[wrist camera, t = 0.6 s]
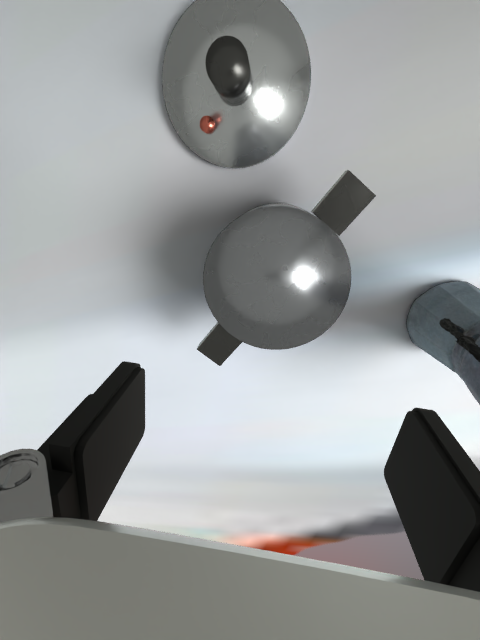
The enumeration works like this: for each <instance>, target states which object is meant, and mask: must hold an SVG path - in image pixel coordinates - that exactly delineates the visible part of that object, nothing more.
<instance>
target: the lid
mask: <svg viewBox="0 0 480 640" xmlns="http://www.w3.org/2000/svg"><path fill="white" fill-rule="evenodd" d="M310 84H311V66H310V57H309V52H308V47H307V43H306V40H305V37H304V34H303V32H302V30H301V28H300V26H299V24H298V22H297V21H296V19H295V17H294V16H293V14H292V13H291V12H290V11H289V9H288V8H287V7H286V6H285V5H284V4H283V3H282V2H281V1H280V0H196V1H195V2H194V3H193V4H192V5H191V6H190V7H189V8H188V9H187V10H186V11H185V13H184V14H183V15H182V16H181V18H180V19H179V21H178V22H177V24H176V26H175V27H174V29H173V32H172V34H171V36H170V38H169V41H168V44H167V48H166V51H165V56H164V61H163V70H162V87H163V96H164V101H165V105H166V109H167V112H168V115H169V118H170V120H171V122H172V124H173V127H174V129H175V130H176V132H177V133H178V135H179V137H180V138H181V139H182V141H183V142H184V143H185V144H186V145H187V146H188V147H189V148H190V149H191V150H192V151H193V152H194V153H195V154H197V155H198V156H199V157H201V158H203V159H204V160H206V161H208V162H210V163H213V164H215V165H218V166H222V167H226V168H245V167H250V166H254V165H257V164H259V163H262V162H264V161H265V160H267V159H269V158H271V157H272V156H273V155H275V154H276V153H277V152H278V151H280V150H281V149H282V148H283V147H284V146H285V145H286V143H287V142H288V141H289V140H290V139H291V137H292V136H293V134H294V132H295V131H296V129H297V127H298V125H299V123H300V121H301V119H302V117H303V114H304V111H305V108H306V105H307V101H308V97H309V91H310Z"/></svg>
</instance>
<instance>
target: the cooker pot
mask: <svg viewBox="0 0 480 640" xmlns="http://www.w3.org/2000/svg"><path fill="white" fill-rule="evenodd" d="M375 196H376V195H375V194H374V193H373V192H371V191H370V190H369V189H368V188H367V187H366V186H365V185H364V184H363V183H362V182H361V181H360V180H359V179H358V178H357V177H356V176H354V175H353V174H352V173H351V172H350V171H349V170H347V171H345V172H344V173H343V175H342V176H341V177H340V178H339V179H338V181H337V182H336V183H335V184H334V185H333V186H332V188H331V189H330V190H329V191H328V192H327V194H326V195H325V196H324V197H323V198H322V199H321V201H320V202H319V203H318V204H317V205H316V207H315V208H314V209H313V210H312V211H311V212H312V213H313V214H315V215H316V216H317V217H318V218H317V217H315V216H314V215H312V214H310V213H309V212H307V211H305V210H303V209H301V208H299V207H296V206H293V205H289V204H281V203H274V204H266V205H262V206H259V207H256V208H254V209H252V210H250V211H248V212H246V213H245V214H243V215H242V216H240V217H239V218H237V219H236V220H235V221H233V222H232V223H230V224H229V225H228V226H227V227H226V228H225V229H224V230H223V231H222V232H221V233H220V234H219V236H218V237H217V238H216V240H215V241H214V243H213V244H212V246H211V248H210V251H209V253H208V255H207V258H206V262H205V266H204V272H203V285H204V292H205V297H206V300H207V303H208V306H209V308H210V310H211V312H212V314H213V316H214V317H215V318H216V320H217V321H218V323H217V324H216V325H215V326H214V327H213V329H212V330H211V331H210V332H209V333H208V334H207V336H206V337H205V338H204V339H203V340H202V342H201V343H200V344H199V346H198V348H197V350H198V351H200V352H201V353H203V354H204V355H205V356H207V357H208V358H209V359H211V360H212V361H213V362H215V363H216V364H218V365H219V366H221V365H222V363H223V362H224V361H225V360H226V359H227V358H228V357H229V356H230V355H231V354H232V352H233V351H234V350H235V349H236V348H237V347H238V346H239V345H240V344H241V343H242V342H244V343H246V344H249V345H252V346H254V347H259V348H263V349H289V348H293V347H298V346H300V345H303V344H306V343H308V342H310V341H312V340H314V339H316V338H317V337H319V336H320V335H322V334H323V333H324V332H325V331H326V330H328V329H329V328H330V327H331V326H332V324H333V323H334V322H335V321H336V320H337V318H338V317H339V315H340V314H341V312H342V310H343V308H344V307H345V304H346V302H347V299H348V296H349V291H350V285H351V268H350V263H349V258H348V255H347V253H346V250H345V248H344V246H343V244H342V242H341V240H340V239H339V238H338V236H337V235H339V236H340V234H341V233H342V232H343V231H344V230H345V229H346V228H347V227H348V226H349V225H350V224H351V222H352V221H353V220H354V219H355V218H356V217H357V216H358V215H359V214H360V213H361V211H362V210H363V209H364V208H365V207H366V206H367V205H368V204H369V203H370V202H371V201H372V199H373V198H374V197H375ZM336 234H337V235H336Z"/></svg>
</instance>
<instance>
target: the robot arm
mask: <svg viewBox="0 0 480 640" xmlns="http://www.w3.org/2000/svg"><path fill="white" fill-rule="evenodd" d="M144 430H145V370H144V369H143V368H141V367H140V364H137V363H131V362H125V361H124V362H122V363H121V364H120V365H119V366H118V367H117V368H116V369H115V370H114V372H113V373H112V374H111V375H110V376H109V377H108V378H107V379H106V380H105V381H104V383H103V384H102V385H101V386H100V387H99V388H98V389H97V390H96V391H95V393H94V394H90V395H88V396H87V397H86V398H85V399H84V400H83V401H82V402H81V403H80V404H79V406H78V407H77V408H76V409H75V410H74V411H73V412H72V413H71V414H70V415H69V416H68V417H67V419H66V420H65V421H64V422H63V423H62V424H61V425H60V426H59V427H58V428H57V429H56V430H55V431H54V433H53V434H52V435H51V436H50V437H49V438H48V439H47V440H46V441H45V442H44V443H43V444H42V446H41V447H40V448H39V449H38V450H34V449H19V450H14V451H10V452H8V453H5V454H3V455H1V456H0V640H480V471H479V470H478V468H477V467H476V466H475V464H474V463H473V462H472V460H471V459H470V458H469V456H468V455H467V453H466V452H465V451H464V449H463V448H462V447H461V445H460V444H459V443H458V441H457V440H456V439H455V437H454V436H453V435H452V433H451V432H450V431H449V429H448V428H447V427H446V425H445V424H444V423H443V421H442V420H441V418H440V417H439V416H438V414H437V413H436V412H435V411H433V410H427V409H421V408H414V409H413V410H412V411H409V412H407V414H406V416H405V419H404V421H403V424H402V426H401V429H400V431H399V433H398V436H397V438H396V441H395V443H394V446H393V448H392V451H391V453H390V455H389V458H388V460H387V463H386V465H385V468H384V477H385V480H386V483H387V485H388V488H389V490H390V493H391V495H392V498H393V500H394V503H395V506H396V508H397V511H398V513H399V516H400V518H401V521H402V524H403V526H404V529H405V531H406V534H407V536H408V539H409V541H410V544H411V547H412V549H413V551H414V554H415V557H416V559H417V562H418V564H419V567H420V569H421V572H422V575H423V577H424V580H419V579H414V578H409V577H404V576H398V575H392V574H388V573H382V572H377V571H372V570H367V569H362V568H357V567H351V566H346V565H340V564H335V563H330V562H325V561H320V560H314V559H309V558H303V557H298V556H293V555H287V554H282V553H276V552H271V551H266V550H260V549H255V548H249V547H244V546H238V545H233V544H227V543H222V542H216V541H211V540H205V539H200V538H194V537H188V536H183V535H177V534H172V533H166V532H160V531H155V530H149V529H143V528H137V527H131V526H124V525H118V524H112V523H106V522H99V521H97V520H98V518H99V516H100V514H101V513H102V511H103V509H104V507H105V505H106V503H107V501H108V500H109V498H110V496H111V494H112V492H113V490H114V489H115V487H116V485H117V483H118V481H119V479H120V477H121V476H122V474H123V472H124V470H125V468H126V466H127V465H128V463H129V461H130V459H131V457H132V455H133V453H134V452H135V450H136V448H137V446H138V444H139V442H140V441H141V439H142V437H143V434H144Z"/></svg>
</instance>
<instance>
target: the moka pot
mask: <svg viewBox="0 0 480 640" xmlns="http://www.w3.org/2000/svg"><path fill="white" fill-rule="evenodd" d="M406 325H407V329H408V332H409V335H410V338H411V340H412V342H413V343H414V344H415V345H417V346H418V347H420V348H421V349H422V350H424V351H425V352H427V353H428V354H430V355H431V356H432V357H434V358H435V359H437V360H438V361H440V362H441V363H443V364H444V365H445V366H447V367H448V368H449V369H451V370H452V371H454V372H456V373H457V374H458V375H459V376H460V378H461V379H462V380H463V381H464V382H465V384H466V385H467V387H468V389H469V390H470V392H471V393H472V395H473V396H474V398H475V399H476V400H477V402H478V403H479V404H480V289H479V288H477V287H475V286H473V285H472V284H470V283H468V282H448V283H444V284H439V285H437V286H435V287H433V288H431V289H429V290H428V291H427V292H425V293H424V294H422V295H421V296H420V297H419V298H417V299H416V300H415V301H414V303H413V304H412V306H411V309H410V311H409V314H408V317H407V323H406Z"/></svg>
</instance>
